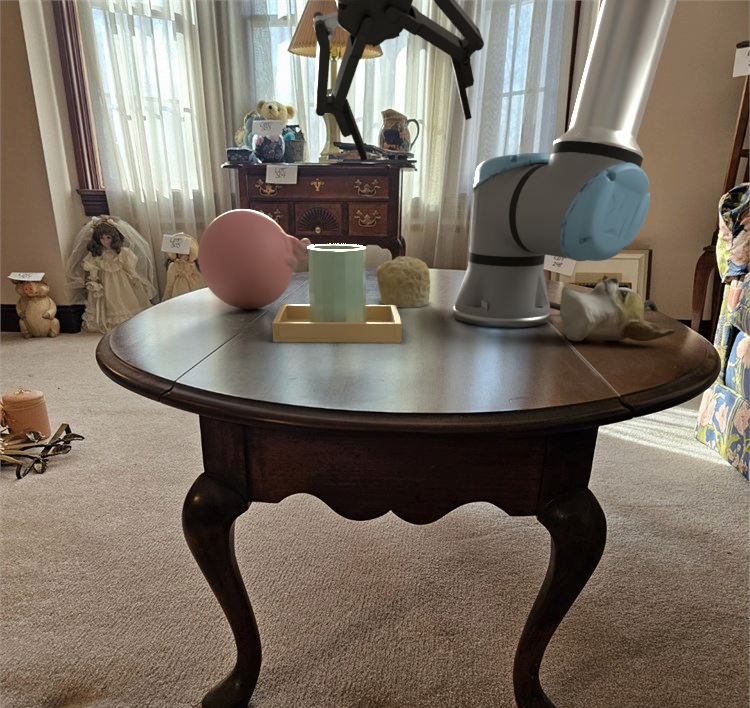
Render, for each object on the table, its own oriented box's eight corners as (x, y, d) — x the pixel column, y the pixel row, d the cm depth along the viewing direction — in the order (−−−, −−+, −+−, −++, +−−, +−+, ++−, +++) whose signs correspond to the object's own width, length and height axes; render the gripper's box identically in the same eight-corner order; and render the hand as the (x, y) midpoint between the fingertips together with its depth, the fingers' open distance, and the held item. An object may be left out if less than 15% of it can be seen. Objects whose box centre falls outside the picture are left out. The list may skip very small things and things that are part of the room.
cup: (376, 326, 96) (377, 247, 91) (341, 336, 90) (339, 251, 85) (335, 319, 100) (333, 243, 95) (299, 328, 95) (295, 247, 90)
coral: (437, 306, 114) (439, 260, 110) (386, 308, 111) (387, 261, 108) (419, 297, 122) (421, 254, 118) (371, 299, 119) (372, 255, 116)
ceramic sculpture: (551, 269, 93) (650, 275, 94) (540, 330, 96) (635, 335, 98) (580, 281, 83) (689, 288, 85) (566, 349, 87) (671, 354, 89)
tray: (395, 322, 102) (396, 305, 101) (401, 342, 90) (401, 323, 89) (282, 321, 102) (281, 304, 100) (273, 342, 89) (272, 323, 88)
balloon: (314, 319, 103) (311, 213, 96) (190, 316, 104) (178, 211, 97) (328, 302, 117) (327, 208, 110) (219, 299, 118) (210, 206, 111)
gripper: (243, 14, 65) (324, 188, 83) (489, -102, 59) (519, 113, 77) (241, -24, 68) (320, 151, 87) (473, -137, 63) (505, 76, 81)
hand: (414, 133), depth 82 cm, fingers open, 13 cm apart
